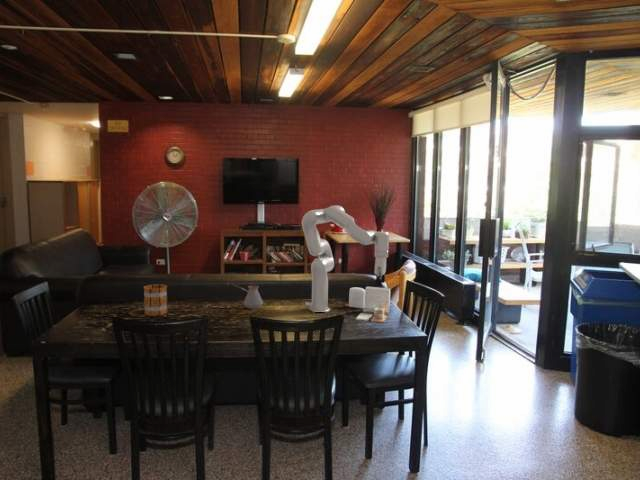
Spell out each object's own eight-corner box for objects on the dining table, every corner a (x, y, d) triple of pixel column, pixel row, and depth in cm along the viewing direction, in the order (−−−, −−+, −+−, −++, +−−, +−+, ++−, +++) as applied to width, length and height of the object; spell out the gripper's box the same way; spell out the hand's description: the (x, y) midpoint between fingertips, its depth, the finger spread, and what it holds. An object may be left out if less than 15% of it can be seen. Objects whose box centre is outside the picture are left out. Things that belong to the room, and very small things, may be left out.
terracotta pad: (370, 321, 273) (370, 319, 273) (375, 315, 285) (375, 314, 285) (383, 322, 271) (383, 321, 271) (387, 317, 283) (387, 315, 283)
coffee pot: (264, 305, 303) (264, 281, 301) (260, 310, 292) (261, 285, 290) (229, 304, 304) (229, 280, 302) (225, 309, 293) (225, 284, 291)
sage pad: (355, 319, 276) (355, 318, 276) (360, 314, 287) (360, 312, 287) (368, 320, 274) (368, 319, 274) (372, 315, 285) (372, 314, 285)
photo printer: (365, 307, 303) (366, 287, 302) (363, 309, 299) (364, 289, 298) (350, 305, 307) (350, 286, 306) (347, 307, 303) (348, 287, 302)
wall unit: (362, 312, 291) (363, 288, 289) (365, 309, 299) (366, 285, 297) (389, 315, 286) (390, 290, 285) (391, 312, 294) (392, 288, 292)
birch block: (373, 318, 276) (374, 309, 276) (375, 316, 281) (375, 307, 281) (382, 319, 275) (382, 310, 274) (384, 317, 280) (384, 308, 279)
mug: (162, 316, 275) (161, 289, 273) (139, 314, 276) (138, 288, 274) (176, 307, 294) (176, 282, 292) (154, 306, 296) (154, 281, 294)
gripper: (377, 251, 283) (376, 280, 285) (371, 255, 267) (370, 286, 269) (390, 252, 281) (389, 282, 283) (385, 256, 264) (383, 288, 266)
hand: (380, 284), depth 276 cm, fingers open, 9 cm apart
